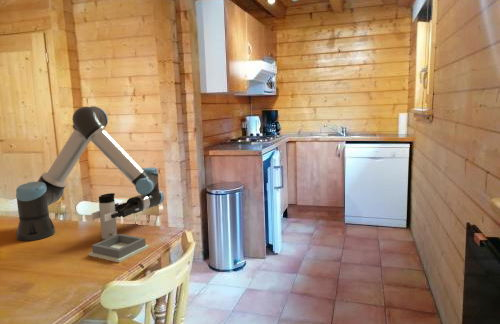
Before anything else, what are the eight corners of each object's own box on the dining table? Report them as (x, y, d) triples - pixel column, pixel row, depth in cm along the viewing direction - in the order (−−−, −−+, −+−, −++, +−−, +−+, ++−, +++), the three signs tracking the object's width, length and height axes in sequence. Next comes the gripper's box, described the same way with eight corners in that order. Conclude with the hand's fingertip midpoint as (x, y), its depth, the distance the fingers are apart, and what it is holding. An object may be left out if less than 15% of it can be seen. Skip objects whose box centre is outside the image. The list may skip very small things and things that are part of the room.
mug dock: (88, 255, 143) (88, 245, 143) (120, 241, 157) (119, 232, 157) (119, 262, 136) (118, 252, 135) (149, 247, 150) (148, 237, 150)
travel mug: (114, 241, 158) (111, 195, 155) (99, 241, 158) (95, 195, 155) (120, 236, 164) (117, 192, 161) (105, 236, 164) (101, 192, 161)
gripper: (154, 213, 172) (115, 229, 151) (123, 209, 180) (83, 223, 160) (153, 198, 171) (114, 211, 150) (122, 194, 179) (81, 206, 159)
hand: (98, 217), depth 155 cm, fingers closed on travel mug, 6 cm apart
